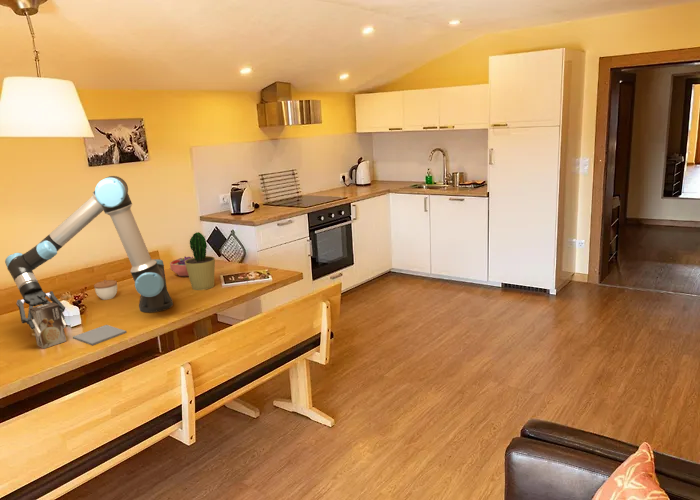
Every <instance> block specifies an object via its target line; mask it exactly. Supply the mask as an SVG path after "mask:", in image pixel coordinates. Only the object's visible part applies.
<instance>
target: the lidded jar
mask: <svg viewBox="0 0 700 500" xmlns="http://www.w3.org/2000/svg"><path fill="white" fill-rule="evenodd" d="M93 288H94V291H95V294H96V296H97V297H98V298H100V299H101V300H102V301H104V300H105V301H106V300H111V299H114V298H115V297H116V294H117V292H118V282H117V280H113V279H111V280H106V279H103V281H98V282H96V283H95V284H93Z"/></svg>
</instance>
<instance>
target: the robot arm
mask: <svg viewBox="0 0 700 500" xmlns="http://www.w3.org/2000/svg"><path fill="white" fill-rule="evenodd" d="M132 206H133V203H132V200H131V198H130V195H129V188H128V184H127V182H126V181H125V179H123V178H121V177H120V176H117V175H109V176H107V177H105V178H103V179H101V180H100V181H98V183H96V186H95V188H94V191H93V192H92V196H91V197H89V198H88V200H86V201H85V202H84V203H83V204H82V205H81V206H80V207H78V208H77V209H76V210H74V212H73V213H71V214H70V215H69V216H68V217H66V219H65V220H63V221H62V223H60V224H59V225H58V226H57V227H56V228H55V229H52V231H51V232H49V234H48V235H47V236H45V238H43V239H42V240H41V241H40V242H38V243H37V244H36V245H35V246H33V247H32V248H31V249H29V250H28V251H26V252H25V253H21V252H14V253H13V254H10V255H8V256H7V257H6V258H5V260H4V262H5V266H6V268H7V271H8V272H9V275H11V278H12V279H13V281H14V283H15V285H16V286H17V289H18V290H19V293H20V295H21V297H22V299H17V301H16V306H17V307H18V310H19V315H20V317H19V318H20V322H21V324H27V325H28V326H29V327H30V329H31V330H35V331H34V333H35V332H36V334H37V336H40V334H41V331H40V329H39V328H38V326H37V324H36V322H35V320H34V319H33V320H32V314H31V312H30V308H33V307H37V306H40V305H44V304H48V303H52V302H53V303H56V304H59V307H60V312H61V317H62V322H63V327H64V329H66V326H67V323H66V321H65V317H66V316H65V315H64V312H65V310H66V306H64V305H63V303H62V302H61V301H60V300H59V299H58V298H57V297H56V296H55V294H54V292H53V291H49V292H45V291H44V290H43V288H42V287H41V285H40V283H39V280H38V279H37V277H36V275H35V274H34V272H33V271H34V270H35V269H38V267H40V266H42V265H43V264H45V263H46V262H48V261H49V260H52V259H53V258H54V257H55V256H56V255H57V254H58V251H60V250H61V248H62V247H64V246H65V245H66V244H67V243H68V242H69V241H71V240H72V239H73V238H74V237H76V235H78V233H80V232H81V231H82V230H83V229H84V228H85V227H87V226H88V225H89V224H90V223H91V222H92V221H93V220H95V218H97V217H98V216H99V215H100V214H101V213H102V212H104V214H106V215H108V216H110V218H111V222H112V223H113V226H114V228H115V231H116V233H117V234H118V237H119V240H120V242H121V244H122V247H123V249H124V251H125V253H126V256H127V258H128V260H129V262H130V265H131V268H130V274H131V277H132V279H133V281H134V288H135V290H136V292H137V293H138V294H139V295H140V299H139V303H138V308H139V311H140V312H142V313H158V312H163V311H165V310H169V309H170V308H172V307H173V305H174V303H173V298H172V296H171V295H170V292H169V291H168V288H167V280H166V274H165V272H166V271H165V264H164V261H163V259H160V258H159V259H157V258H156V259H152V257H151V255H150V252H149V251H148V247H147V245H146V243H145V241H144V238H143V236H142V233H141V231H140V229H139V227H138V224H137V222H136V219H135V217H134V214H133V212H132V209H131V208H132ZM49 299H50V300H49ZM24 304H27V305H28V313H27V317H26V311H25V306H24Z"/></svg>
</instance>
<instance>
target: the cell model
mask: <svg viewBox="0 0 700 500" xmlns="http://www.w3.org/2000/svg"><path fill="white" fill-rule="evenodd" d="M190 258H194V256H184V258H183V257H179V258H177V259H174V260H172V261H170V262H169V267H170V270H171V271H173V273H175V274H176V275H178V277H189V275H188V272H187V268H186V265H185V261H186V260H187V259H190Z"/></svg>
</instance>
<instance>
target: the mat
mask: <svg viewBox="0 0 700 500" xmlns="http://www.w3.org/2000/svg"><path fill="white" fill-rule="evenodd" d="M124 334H127V330H124V329H122V328H118V327H116V326H112V325H109V324H105V325H102V326H99V327H96V328H93V329H90V330H88V331H85V332H82V333H80V334H77V335H74V336H72V339H73V340H76V341H79V342H82V343H83V344H88V345H90V346H94V345H95V346H96V345H98V344H100V343H103V342H106V341H108V340H111V339H114V338H116V337H119V336H121V335H124Z"/></svg>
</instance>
